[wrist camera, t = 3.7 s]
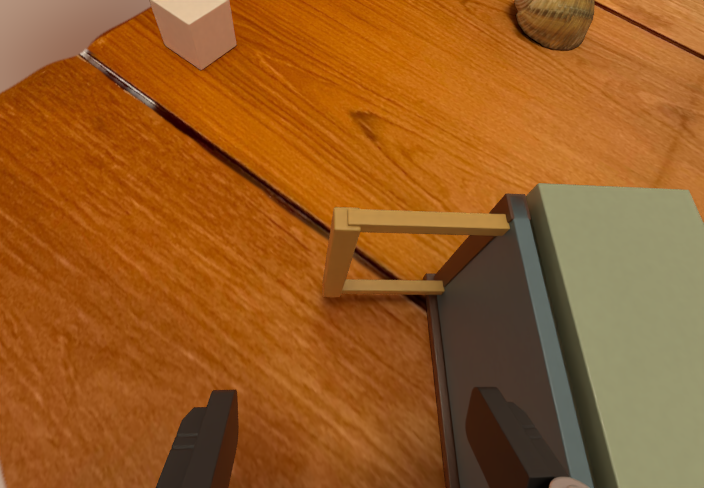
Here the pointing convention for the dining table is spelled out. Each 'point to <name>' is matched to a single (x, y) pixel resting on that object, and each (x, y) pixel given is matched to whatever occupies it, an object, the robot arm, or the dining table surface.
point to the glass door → (480, 318)
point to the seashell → (555, 21)
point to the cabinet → (618, 329)
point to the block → (196, 28)
